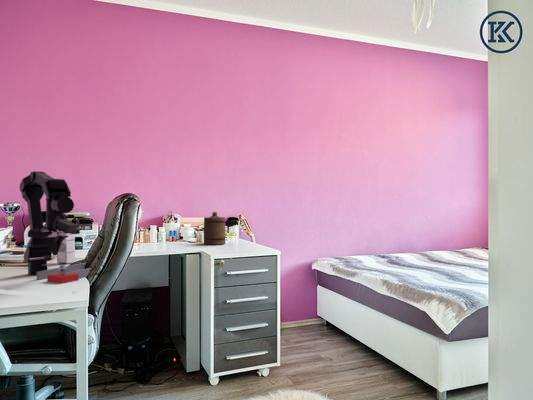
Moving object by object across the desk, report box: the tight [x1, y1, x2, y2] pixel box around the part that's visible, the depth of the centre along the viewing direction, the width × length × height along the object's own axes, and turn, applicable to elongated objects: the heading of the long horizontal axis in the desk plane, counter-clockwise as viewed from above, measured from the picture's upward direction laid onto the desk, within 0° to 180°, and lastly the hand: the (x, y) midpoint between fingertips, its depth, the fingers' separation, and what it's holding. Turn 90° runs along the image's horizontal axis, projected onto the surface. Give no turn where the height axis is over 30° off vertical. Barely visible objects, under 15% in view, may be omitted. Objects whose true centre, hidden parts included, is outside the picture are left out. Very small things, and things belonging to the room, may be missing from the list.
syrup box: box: [56, 233, 76, 264], centre depth 195 cm, size 6×6×14 cm
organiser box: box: [36, 261, 91, 281], centre depth 160 cm, size 13×25×3 cm, turn 162°
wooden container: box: [203, 211, 226, 246], centre depth 281 cm, size 15×15×22 cm
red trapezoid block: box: [46, 264, 80, 284], centre depth 148 cm, size 8×7×6 cm
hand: (55, 255), depth 150 cm, fingers closed
